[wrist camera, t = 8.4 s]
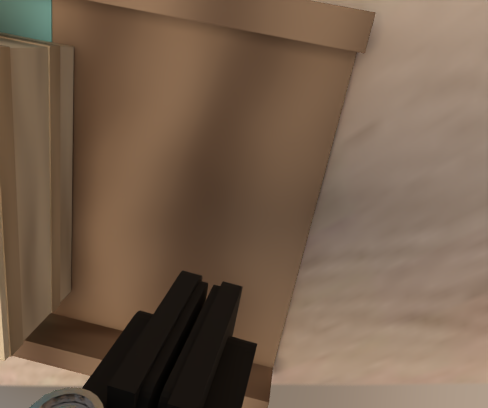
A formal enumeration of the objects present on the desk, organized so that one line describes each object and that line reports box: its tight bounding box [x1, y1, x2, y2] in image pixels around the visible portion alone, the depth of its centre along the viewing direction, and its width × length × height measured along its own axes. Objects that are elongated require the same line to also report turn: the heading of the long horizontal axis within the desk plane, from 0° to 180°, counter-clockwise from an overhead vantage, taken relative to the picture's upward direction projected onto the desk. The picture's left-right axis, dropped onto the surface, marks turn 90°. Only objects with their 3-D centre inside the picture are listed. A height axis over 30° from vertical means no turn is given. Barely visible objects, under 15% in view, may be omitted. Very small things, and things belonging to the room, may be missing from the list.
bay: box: [0, 0, 375, 408], centre depth 18 cm, size 22×18×3 cm
